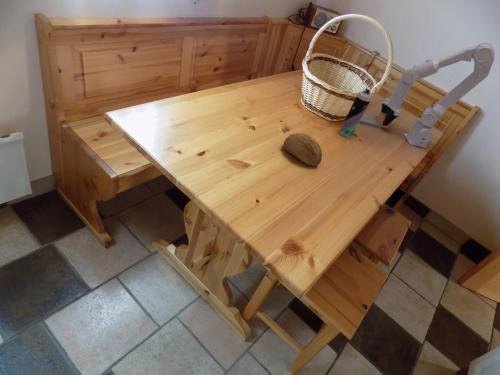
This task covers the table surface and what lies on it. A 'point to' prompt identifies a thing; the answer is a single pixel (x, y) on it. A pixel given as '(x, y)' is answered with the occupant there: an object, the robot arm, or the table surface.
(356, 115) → the spray can
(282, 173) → the table surface
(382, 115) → the clay cube
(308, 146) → the bread roll
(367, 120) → the slate tile
